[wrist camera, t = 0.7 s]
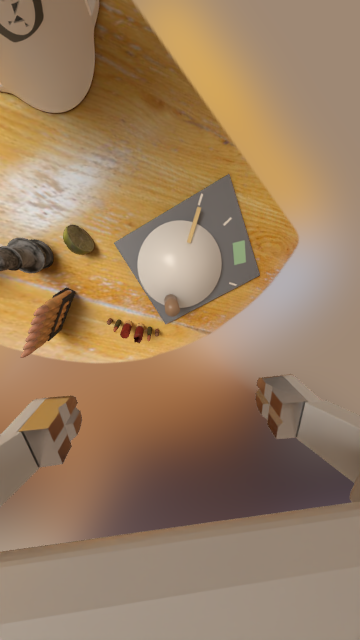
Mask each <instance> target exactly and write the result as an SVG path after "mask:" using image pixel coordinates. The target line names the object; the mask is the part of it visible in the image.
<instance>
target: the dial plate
mask: <svg viewBox="0 0 360 640" xmlns="http://www.w3.org/2000/svg"><path fill="white" fill-rule="evenodd" d="M197 207H200V208H201V211H200V214H199V217H198V221H197V224H198V225H200V226H202V227H203V228H205V229H206V230H207V231H208V232H209V233H210V234H211V235H212V236H213V238H214V239H215V241H216V243H217V245H218V247H219V250H220V253H221V260H222V267H221V274H220V277H219V280H218V282H217V285H216V286H215V288H214V290H213V291H212V292H211V293H210V294H209V295H208V296H207V297H206V298H205V299H204V300H203V301H201V302H199V303H197V304H195V305H193V306H190V307H185V308H180V312H179V314H178V315H176V316H174V317H171V316H168V315H167V314H166V312H165V305H163V304H161V303H159V302H157V301H155V300H154V299H153V298H152V297H151V296H150V295H149V294H148V293H147V292H146V290H145V289H144V287H143V286H142V284H141V281H140V279H139V275H138V268H137V261H138V255H139V251H140V248H141V246H142V244H143V242H144V240H145V239H146V238H147V236H148V235H149V234H150V233H151V232H152V231H153V230H154V229H156V228H157V227H159V226H160V225H162V224H164V223H167V222H170V221H176V220H184V221H190V222H193V219H194V216H195V213H196V209H197ZM114 244H115V246H116V247H117V249H118V250H119V252H120V253H121V255H122V257H123V258H124V260H125V261H126V263H127V264H128V266H129V268H130V269H131V271H132V272H133V274H134V275H135V277H136V279H137V280H138V282H139V283H140V285H141V286H142V288H143V289H144V291H145V293H146V294H147V296H148V297H149V299H150V300H151V302H152V304H153V305H154V307H155V308H156V310H157V311H158V313H159V315H160V316H161V318H162V319H163V321H164V322H165V324H167V323H169V322H171V321H173V320H175V319H177V318H179V317H181V316H183V315H185V314H187V313H188V312H190V311H192V310H194V309H196V308H198V307H200V306H202V305H204V304H206V303H208V302H210V301H211V300H213V299H215V298H217V297H219V296H221V295H223V294H225V293H227V292H229V291H231V290H233V289H235V288H236V287H238V286H240V285H242V284H244V283H246V282H248V281H250V280H252V279H254V278H256V277H258V276H259V275H260V274H259V270H258V267H257V264H256V261H255V257H254V254H253V251H252V247H251V244H250V241H249V238H248V234H247V231H246V228H245V224H244V221H243V218H242V215H241V211H240V208H239V205H238V201H237V198H236V195H235V191H234V188H233V185H232V182H231V178H230V175H229V174H228V175H226V176H225V177H223V178H221V179H220V180H218V181H216V182H215V183H213V184H211V185H210V186H208V187H206V188H205V189H203V190H201V191H200V192H198V193H196V194H195V195H193V196H191V197H190V198H188V199H186V200H185V201H183V202H181V203H180V204H178V205H176V206H175V207H173V208H171V209H170V210H168V211H166V212H165V213H163V214H161V215H160V216H158V217H156V218H155V219H153V220H151V221H150V222H148V223H146V224H145V225H143V226H141V227H140V228H138V229H136V230H135V231H133V232H131V233H130V234H128V235H126V236H125V237H123V238H121V239H120V240H118V241H116V242H115V243H114Z"/></svg>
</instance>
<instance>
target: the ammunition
mask: <svg viewBox="0 0 360 640" xmlns="http://www.w3.org/2000/svg"><path fill="white" fill-rule="evenodd" d="M112 321H113V320H112V319H111V318H109V320H108V321H107V324H108V325H110V324H111V322H112ZM120 324H121V320H117V322H116V324H115V327H114V332H116V330H117V329H118V328H119V326H120ZM131 327H132V322H131V321H130V320H127V321H126V322H125V323H124V326H123V328H122V331H121V334H120V335H121V337H122V338H127V337H129V334H130V331H131ZM143 331H144V325H143V324H142V323H138V324H137V327H136V331H135V335H134V339H135V341H134V342H138V343H140V342H141V340H142V337H143ZM151 333H152V327H148V333H147V334H148V337H147V339H148V341H150V338H151ZM158 335H159V330H158V329H156V330H155V336H158Z"/></svg>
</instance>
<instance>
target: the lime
mask: <svg viewBox="0 0 360 640" xmlns="http://www.w3.org/2000/svg"><path fill="white" fill-rule="evenodd" d="M63 239H64V242H65V244H66V245H67V247H68V248H69V249H70V250H71V251H72V252H74V253H76V254H80V255H84V254H88V253H90V252H91V251H92V250H93V248H94V243H93V240H92V238H91V237H90V236H89V235H88V234H87V233H86V232H85V231H84V230H82V229H81V228H79V227H78V226H75V225H69V226H68V227H66V229H65V230H64V233H63Z"/></svg>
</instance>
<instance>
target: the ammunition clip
mask: <svg viewBox="0 0 360 640" xmlns="http://www.w3.org/2000/svg"><path fill="white" fill-rule="evenodd" d="M74 294H75V291H73V290H71V289H69V288H65V289H64V290H62V291H60V292H59V293H57V294H55V295H54V296H53V298H52V299H50V300H48V301H47V302H46V303H45V304H44V305H42V306H41V307H39V308H38V309H37V310H36V311H35V313H34V316H36V317H35V318H34V319H33V320H32V322H31V325H33V326H32V327H31V328H30V329H29V331H28V333H29V334H30V333H31V334H30V335H29V336H28V337H27V338H26V342H27V343H26V344H25V346H24V348H23V350H24V351H23V353H22V354H21V358H23V357H26V356H28V355H29V354H31V353H32V352H33V351H35V350H36V349H37V348H39V347H41V346H42V345H43V344H44V343H45V342H46V341H49V340H51V339H52V338H53V337H54V336H55V335H56V334H57V333H58V332H59V331H61V329H62V326H63V323H64V321H65V318H66V315H67V313H68V310H69V308H70V305H71V302H72V300H73V297H74Z"/></svg>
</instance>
